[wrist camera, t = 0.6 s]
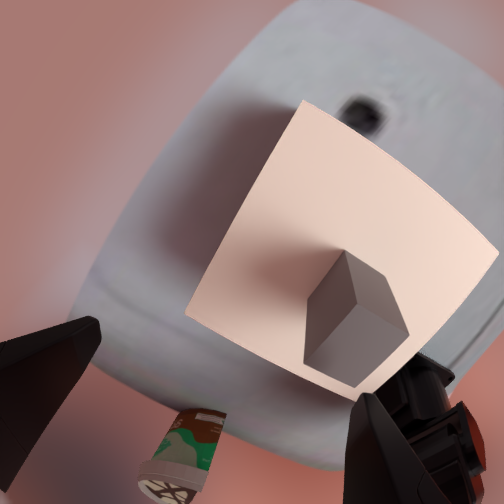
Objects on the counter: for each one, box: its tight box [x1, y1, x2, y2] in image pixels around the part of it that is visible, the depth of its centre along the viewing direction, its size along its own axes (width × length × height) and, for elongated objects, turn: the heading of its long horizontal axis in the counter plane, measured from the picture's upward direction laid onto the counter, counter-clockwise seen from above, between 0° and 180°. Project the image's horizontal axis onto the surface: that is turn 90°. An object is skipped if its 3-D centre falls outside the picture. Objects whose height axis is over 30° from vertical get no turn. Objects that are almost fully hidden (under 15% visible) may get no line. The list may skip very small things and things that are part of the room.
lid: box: [184, 100, 499, 402], centre depth 12 cm, size 12×12×5 cm
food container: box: [138, 408, 227, 504], centre depth 25 cm, size 12×6×10 cm, turn 163°
